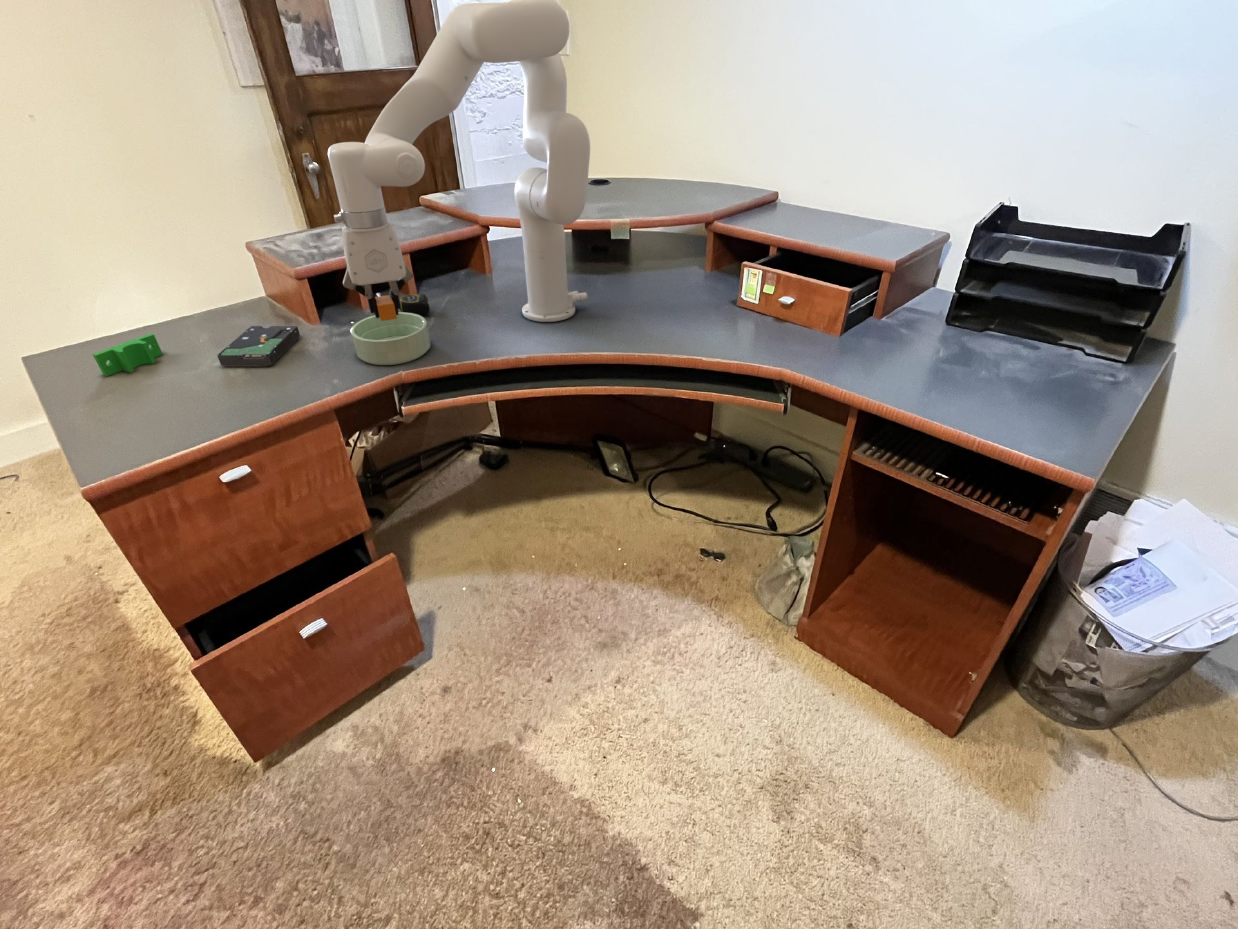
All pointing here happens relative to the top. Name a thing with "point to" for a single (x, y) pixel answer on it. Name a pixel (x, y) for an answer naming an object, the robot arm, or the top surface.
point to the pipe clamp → (128, 355)
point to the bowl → (391, 339)
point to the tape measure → (414, 304)
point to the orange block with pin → (385, 307)
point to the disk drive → (259, 346)
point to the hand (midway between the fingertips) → (386, 313)
